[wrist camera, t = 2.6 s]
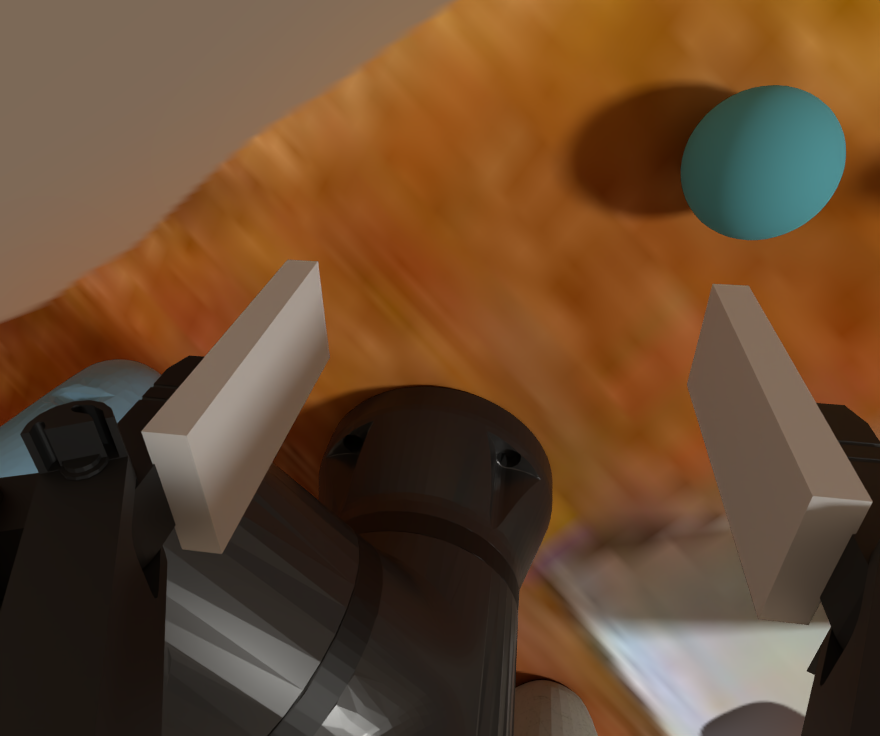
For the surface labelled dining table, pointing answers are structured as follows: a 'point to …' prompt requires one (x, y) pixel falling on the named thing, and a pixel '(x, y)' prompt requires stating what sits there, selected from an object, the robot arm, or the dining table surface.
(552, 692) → the bowling pin
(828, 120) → the ball
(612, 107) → the dining table surface
